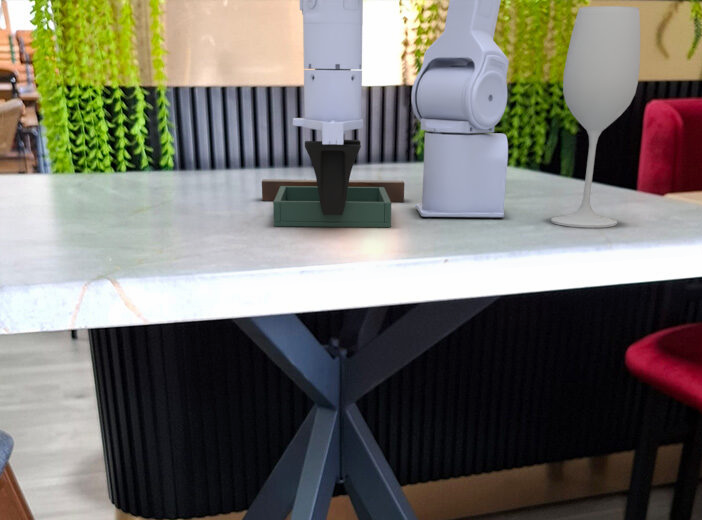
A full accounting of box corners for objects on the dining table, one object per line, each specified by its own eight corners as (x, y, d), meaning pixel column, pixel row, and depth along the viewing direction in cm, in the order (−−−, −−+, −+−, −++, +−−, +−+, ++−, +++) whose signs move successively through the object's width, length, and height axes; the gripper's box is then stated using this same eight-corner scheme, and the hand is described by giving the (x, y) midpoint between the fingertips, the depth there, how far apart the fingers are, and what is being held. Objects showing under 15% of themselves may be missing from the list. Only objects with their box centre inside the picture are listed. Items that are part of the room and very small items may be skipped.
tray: (383, 208, 108) (384, 186, 107) (390, 227, 95) (391, 202, 94) (280, 207, 108) (280, 185, 107) (273, 226, 95) (273, 201, 94)
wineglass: (585, 230, 95) (611, 4, 86) (534, 220, 101) (555, 8, 92) (633, 224, 99) (663, 8, 90) (582, 215, 104) (606, 11, 95)
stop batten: (402, 200, 116) (403, 180, 114) (403, 202, 114) (404, 182, 113) (263, 198, 115) (262, 179, 114) (262, 200, 113) (261, 180, 112)
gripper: (294, 69, 94) (296, 204, 100) (288, 69, 81) (291, 224, 87) (361, 70, 94) (360, 205, 100) (366, 70, 81) (364, 225, 87)
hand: (332, 214), depth 93 cm, fingers closed
